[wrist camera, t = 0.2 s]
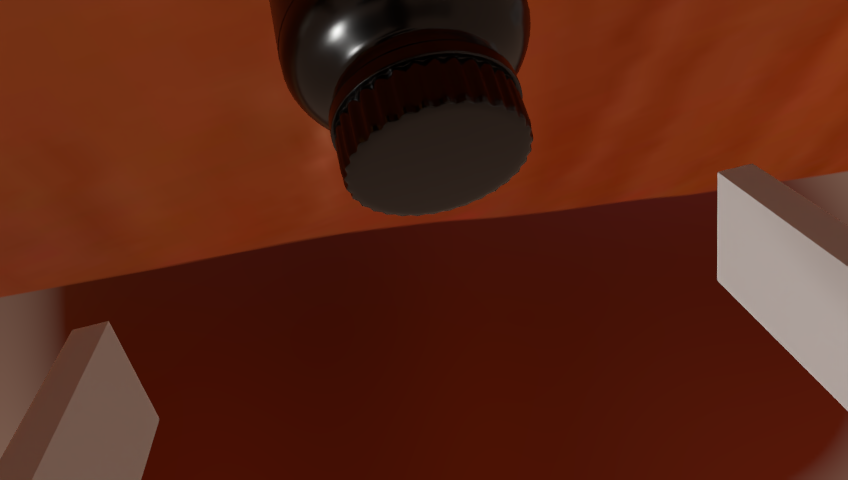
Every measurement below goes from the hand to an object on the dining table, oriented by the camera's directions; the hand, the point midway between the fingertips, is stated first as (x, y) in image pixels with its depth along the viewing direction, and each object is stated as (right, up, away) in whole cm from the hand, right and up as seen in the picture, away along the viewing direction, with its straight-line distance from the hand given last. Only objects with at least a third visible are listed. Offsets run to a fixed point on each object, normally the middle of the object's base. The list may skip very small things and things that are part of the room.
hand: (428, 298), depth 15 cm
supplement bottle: (-2, +13, +7) cm, 16 cm away
